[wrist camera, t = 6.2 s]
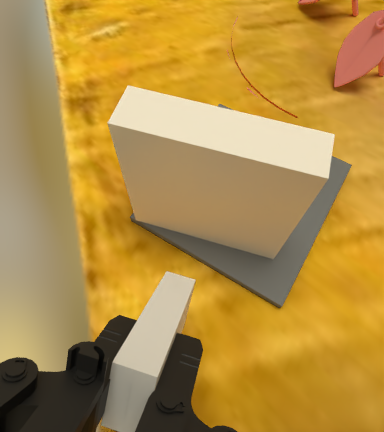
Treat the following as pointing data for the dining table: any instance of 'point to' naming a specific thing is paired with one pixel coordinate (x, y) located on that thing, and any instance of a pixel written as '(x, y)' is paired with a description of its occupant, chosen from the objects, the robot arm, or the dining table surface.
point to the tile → (217, 169)
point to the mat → (259, 265)
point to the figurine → (355, 49)
